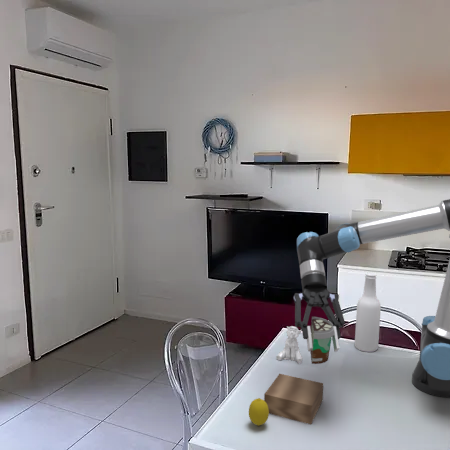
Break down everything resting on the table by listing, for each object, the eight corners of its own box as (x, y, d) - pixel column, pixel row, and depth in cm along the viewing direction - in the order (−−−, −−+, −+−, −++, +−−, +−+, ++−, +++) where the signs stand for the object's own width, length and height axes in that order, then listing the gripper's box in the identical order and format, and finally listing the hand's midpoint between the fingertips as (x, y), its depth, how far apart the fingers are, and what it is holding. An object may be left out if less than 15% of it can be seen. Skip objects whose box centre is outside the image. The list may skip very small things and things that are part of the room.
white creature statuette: (275, 360, 166) (276, 329, 165) (280, 351, 175) (281, 321, 173) (301, 364, 164) (302, 332, 162) (305, 354, 172) (306, 324, 170)
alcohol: (351, 343, 182) (355, 270, 178) (372, 343, 183) (376, 270, 179) (359, 353, 174) (364, 276, 169) (381, 352, 175) (387, 276, 170)
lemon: (254, 433, 122) (254, 405, 121) (245, 422, 127) (245, 395, 126) (272, 428, 125) (272, 401, 123) (262, 418, 130) (263, 391, 128)
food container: (334, 368, 125) (337, 333, 123) (311, 366, 125) (314, 331, 124) (330, 349, 137) (332, 317, 135) (309, 347, 137) (311, 315, 136)
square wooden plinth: (322, 401, 139) (323, 383, 139) (311, 425, 127) (311, 405, 126) (278, 391, 145) (279, 373, 144) (263, 413, 133) (264, 394, 132)
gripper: (341, 284, 145) (354, 354, 131) (279, 283, 144) (286, 354, 130) (347, 272, 139) (362, 345, 125) (283, 271, 138) (291, 344, 124)
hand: (323, 349), depth 128 cm, fingers closed on food container, 7 cm apart
